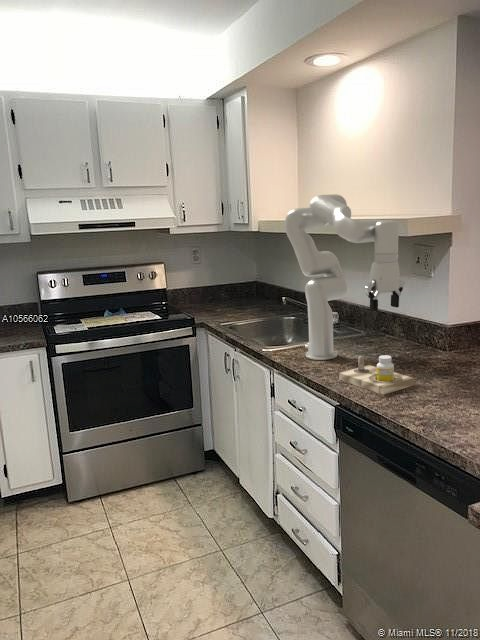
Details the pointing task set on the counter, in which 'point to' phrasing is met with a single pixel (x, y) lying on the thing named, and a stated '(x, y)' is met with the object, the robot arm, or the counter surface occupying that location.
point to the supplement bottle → (385, 369)
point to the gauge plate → (374, 379)
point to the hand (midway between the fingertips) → (384, 308)
